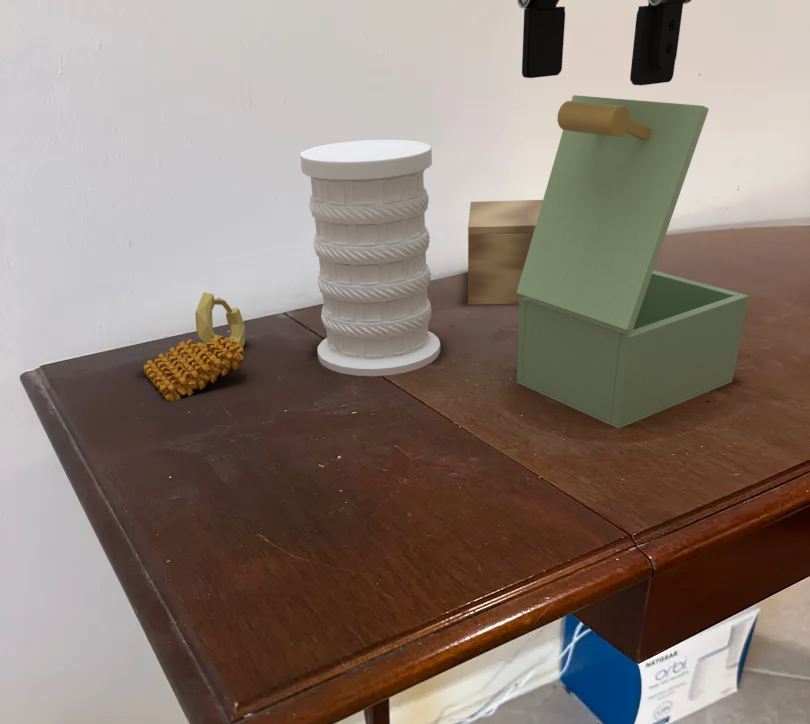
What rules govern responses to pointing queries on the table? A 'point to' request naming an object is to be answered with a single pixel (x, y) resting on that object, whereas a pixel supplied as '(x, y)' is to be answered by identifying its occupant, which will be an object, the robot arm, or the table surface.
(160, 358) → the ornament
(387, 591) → the table surface
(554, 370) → the chest
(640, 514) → the table surface
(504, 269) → the cabinet
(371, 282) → the decorative container
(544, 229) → the lid
